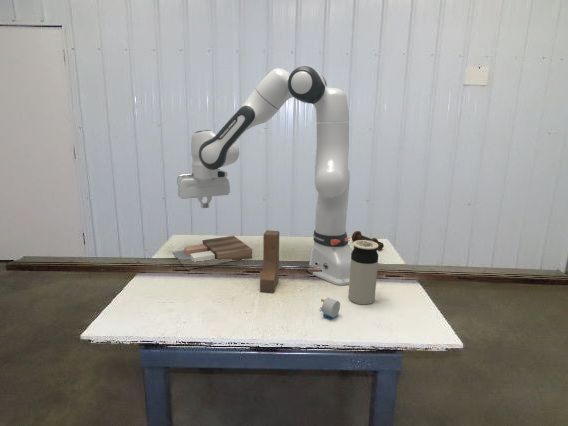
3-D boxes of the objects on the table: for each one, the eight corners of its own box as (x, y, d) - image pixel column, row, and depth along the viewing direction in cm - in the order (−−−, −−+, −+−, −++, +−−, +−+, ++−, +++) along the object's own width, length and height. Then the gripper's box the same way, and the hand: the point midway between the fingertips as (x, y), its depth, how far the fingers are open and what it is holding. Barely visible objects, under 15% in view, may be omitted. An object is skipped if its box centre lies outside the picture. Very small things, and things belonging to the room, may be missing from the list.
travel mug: (355, 306, 109) (359, 249, 105) (344, 294, 116) (347, 240, 112) (379, 303, 111) (384, 247, 107) (366, 292, 118) (371, 238, 114)
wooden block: (273, 293, 116) (274, 239, 112) (259, 291, 117) (259, 238, 113) (278, 281, 125) (279, 230, 121) (265, 280, 126) (266, 229, 121)
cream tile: (214, 260, 140) (214, 254, 140) (194, 264, 137) (193, 258, 136) (210, 256, 145) (210, 250, 144) (190, 260, 141) (190, 253, 140)
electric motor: (327, 307, 108) (328, 292, 107) (341, 313, 105) (342, 297, 104) (314, 316, 103) (314, 300, 101) (328, 322, 100) (329, 306, 99)
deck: (252, 258, 146) (252, 248, 145) (218, 264, 139) (218, 254, 138) (233, 244, 162) (233, 235, 161) (202, 249, 155) (202, 240, 154)
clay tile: (207, 253, 148) (207, 247, 147) (187, 256, 144) (187, 250, 144) (203, 249, 152) (203, 244, 152) (184, 252, 148) (184, 246, 148)
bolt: (379, 255, 158) (353, 244, 169) (386, 247, 159) (360, 237, 171) (376, 245, 155) (350, 235, 166) (383, 238, 156) (357, 228, 168)
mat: (218, 264, 138) (218, 263, 138) (186, 270, 132) (186, 269, 132) (201, 248, 155) (201, 247, 155) (172, 253, 149) (172, 252, 149)
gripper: (179, 175, 135) (180, 212, 138) (231, 172, 145) (231, 206, 148) (174, 173, 140) (176, 208, 143) (225, 170, 150) (226, 203, 153)
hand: (205, 207), depth 146 cm, fingers closed
